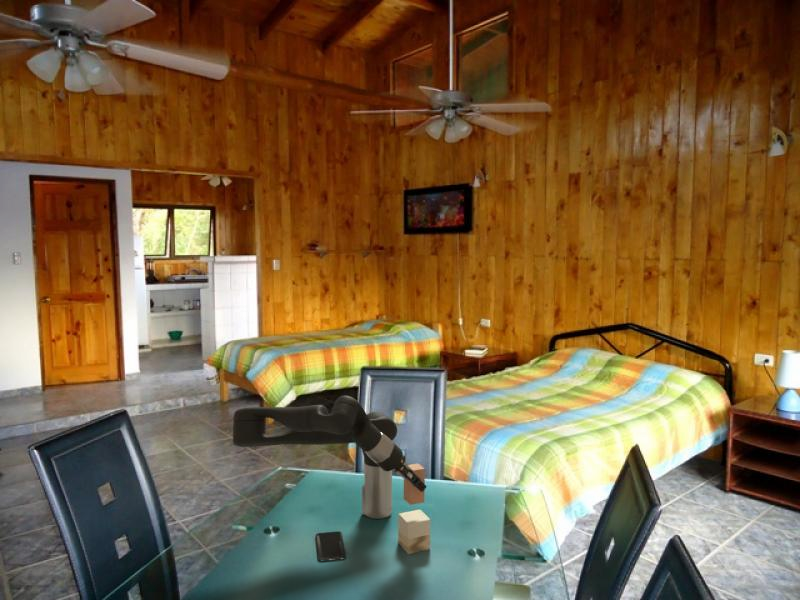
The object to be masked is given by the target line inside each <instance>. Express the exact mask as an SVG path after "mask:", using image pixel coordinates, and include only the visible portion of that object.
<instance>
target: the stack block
mask: <svg viewBox="0 0 800 600" xmlns="http://www.w3.org/2000/svg"><path fill="white" fill-rule="evenodd" d="M408 466H409V467H410V468H411V469H412V470H413V471H414V472H415V474H416V475H417V476H418V477H419V478H420V479H421V481H422V482H423V483H424V484H425V485H426V482H425V480H426V479H425V477H426V474H425V473H426V468H424V466H423V465H421V464H419V463H412V464H408ZM404 477H405V476H404ZM425 490H426V489H425ZM425 490H424V491H423V492H421V491H420V490H419V489H418V488H416V487H415V486H413V485H412V483H411V482H409V481H406V480H405V479H404V478H403V500H405V502H406V503H408V504H409V505H411V506H412V505H417V504H421V503H422V504H423V503H425Z"/></svg>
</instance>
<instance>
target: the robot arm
mask: <svg viewBox="0 0 800 600" xmlns="http://www.w3.org/2000/svg"><path fill="white" fill-rule="evenodd" d="M267 419H272V420H274V421H276V422H279V423H280V424H281V425H283V426H284V427H283V429H281V430H279V431H276V432H275V433H272V434H266V432H267V430H266V428H267V423H266V422H267ZM232 420H233V421H232V422H233V423H232V443H233V445H234V446H236V447H239V448H255V447H256V448H257V447H268V446H279V445H280V446H282V445H309V446H310V445H311V446H312V445H314V446H315V445H316V446H317V445H318V446H319V445H340V444H355V445H357V447H359V448H360V449H361V450H362V451H361V452H362V455H363V464H364V465H363V476H364V477H363V484H362V486H361V515H364V516H366V517H368V518H370V519H378V520H379V519H385V518H388V517H390V516H392V514H393V472H394V473H395V474H397V475H398V476H399V477H401V478H403V480H404V479H405V480H406V481H409V482H411V483H412V485H413V486H415V487H416V488H418V489H419V490H420V491H421V492H423V491H424V490H426V489H427V485H426V483H425V484H424V483H423V482H422V481H421V479H420V478H419V477H418V476H417V475H416V474H415V472H414V471H413V470H412V469H411V468H410V467H409V466H408V465H409V464H408V463H407V462H406V461H404V460H403V455H404V454H403V450H402V449H401V448H400V447H399V446H397V444H396V443H395V442H394V441H393V440H395V438H396V437H397V434H398V426H397V424H396V423H395V422H394V420H393V419H391V418H390V417H389V416H387V415H386V414H384V413H382V412H380V411H372V412H369V413H368V414H367V412H366V411H365V409H364V408H363V406H362V404H361V403H360V402H359V401H358V400H357V399H355V398H354V397H352V396H349V395H341V396H339V397H338V398H337V399H336V400H335V402H334V405H333V407H332V409H331V411H330V413H329V410H328V408H327V407H326V406H325V405H323V404H313V405H306V406H304V405H303V406H296V407H293V406H290V407H286V406H285V407H284V406H253V407H251V406H250V407H249V406H248V407H242V408H240V409H237V410H235V412H234V413H233V419H232ZM404 476H405V477H404ZM424 492H425V491H424Z"/></svg>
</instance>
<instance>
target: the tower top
mask: <svg viewBox="0 0 800 600" xmlns="http://www.w3.org/2000/svg"><path fill="white" fill-rule="evenodd" d="M398 528H399V529H400V530H401V532H402V533H403V534H404V535H405V536H406V537H407V538H408V539H411V538H416V537H420V536H425V535H430V536H431V519H430V517H429V516H427V515H426V514H425V513H424V512H423V511H422V510H421V509H415V510H411V511H410V510H409V511H405V512H400V513H398Z"/></svg>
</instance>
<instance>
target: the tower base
mask: <svg viewBox="0 0 800 600" xmlns="http://www.w3.org/2000/svg"><path fill="white" fill-rule="evenodd" d="M397 533H398V534H397V535H398V536H397V537H398V538H397V542H398V544H399V546H401V547H402V549H403V550H404V551H405V552H406V553H407V554H408V555H410V554H414V552H415V553H419V552H423V551H427V550H431V534H430V535H425V536H420V537H416V538H411V539H408V538H407V537H406V536H405V535H404V534H403V533H402V532H401V530H400V529H399V527H398V529H397ZM418 551H419V552H418Z"/></svg>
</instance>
